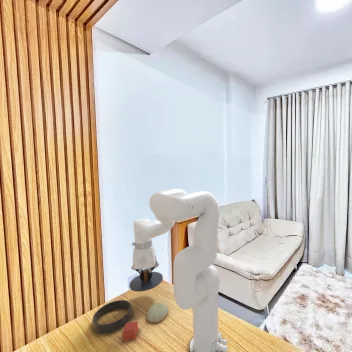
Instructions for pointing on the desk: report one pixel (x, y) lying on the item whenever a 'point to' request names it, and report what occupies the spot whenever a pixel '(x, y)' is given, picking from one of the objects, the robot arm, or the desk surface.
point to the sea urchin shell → (157, 312)
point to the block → (130, 330)
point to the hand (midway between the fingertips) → (146, 279)
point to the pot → (114, 325)
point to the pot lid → (146, 281)
